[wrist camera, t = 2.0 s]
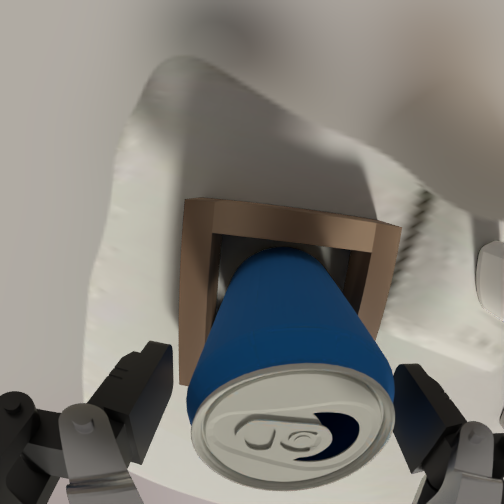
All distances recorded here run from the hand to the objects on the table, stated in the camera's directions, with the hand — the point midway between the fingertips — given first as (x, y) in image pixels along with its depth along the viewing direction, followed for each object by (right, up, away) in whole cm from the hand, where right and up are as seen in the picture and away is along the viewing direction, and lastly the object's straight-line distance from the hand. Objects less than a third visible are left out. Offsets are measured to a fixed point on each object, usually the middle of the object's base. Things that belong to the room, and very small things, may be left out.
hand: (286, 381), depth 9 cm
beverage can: (+1, +2, +9) cm, 9 cm away
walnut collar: (+1, +2, +9) cm, 9 cm away
